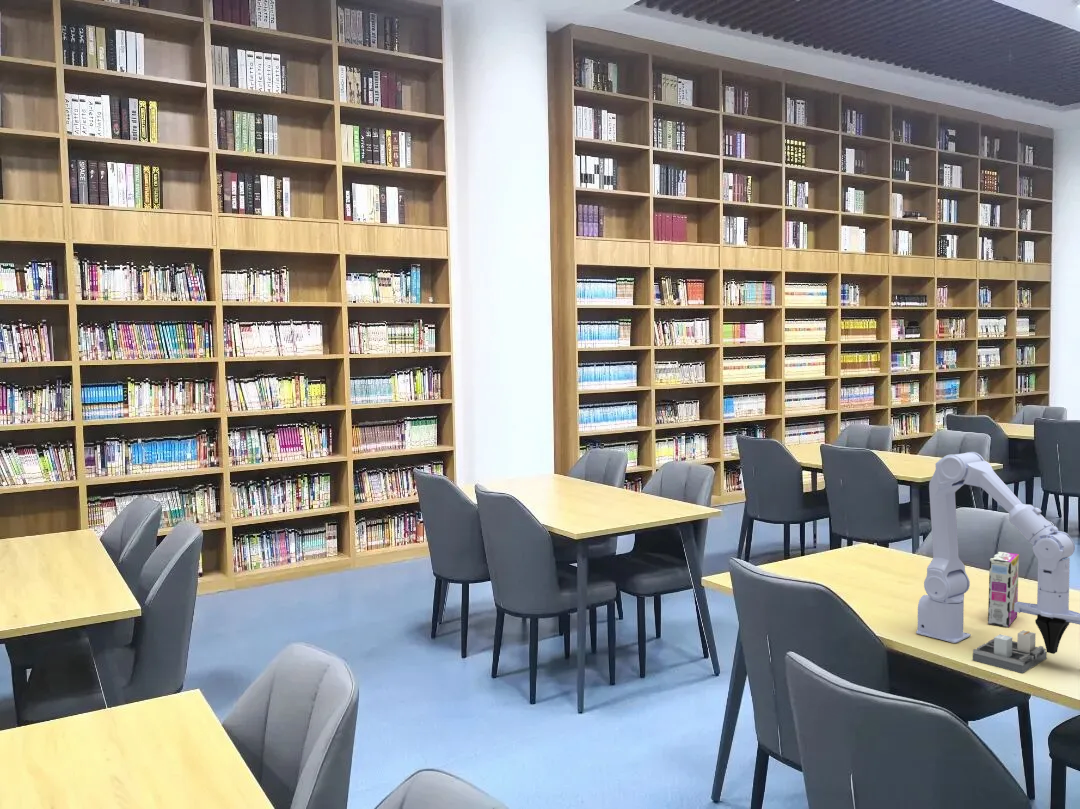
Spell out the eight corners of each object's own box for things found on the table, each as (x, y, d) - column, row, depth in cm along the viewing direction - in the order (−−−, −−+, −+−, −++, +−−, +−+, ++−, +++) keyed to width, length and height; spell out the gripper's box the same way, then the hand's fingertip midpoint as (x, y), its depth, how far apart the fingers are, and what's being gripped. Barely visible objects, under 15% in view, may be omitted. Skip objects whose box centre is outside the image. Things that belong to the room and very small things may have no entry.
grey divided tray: (972, 660, 180) (972, 648, 180) (998, 646, 188) (998, 635, 188) (1022, 673, 172) (1022, 660, 172) (1046, 658, 180) (1046, 646, 180)
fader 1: (993, 655, 178) (994, 636, 178) (999, 652, 180) (1000, 633, 180) (1006, 658, 176) (1006, 639, 176) (1012, 655, 178) (1012, 636, 178)
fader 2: (1017, 651, 180) (1017, 632, 180) (1022, 648, 182) (1023, 629, 182) (1029, 654, 178) (1030, 635, 178) (1035, 651, 180) (1035, 632, 180)
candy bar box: (1010, 628, 201) (1011, 561, 200) (987, 624, 204) (988, 559, 203) (1018, 617, 209) (1019, 553, 208) (996, 613, 212) (997, 550, 211)
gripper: (1008, 585, 179) (1007, 647, 179) (1085, 600, 167) (1083, 666, 168) (1022, 580, 183) (1021, 640, 184) (1097, 593, 172) (1096, 657, 173)
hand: (1051, 652), depth 176 cm, fingers closed
